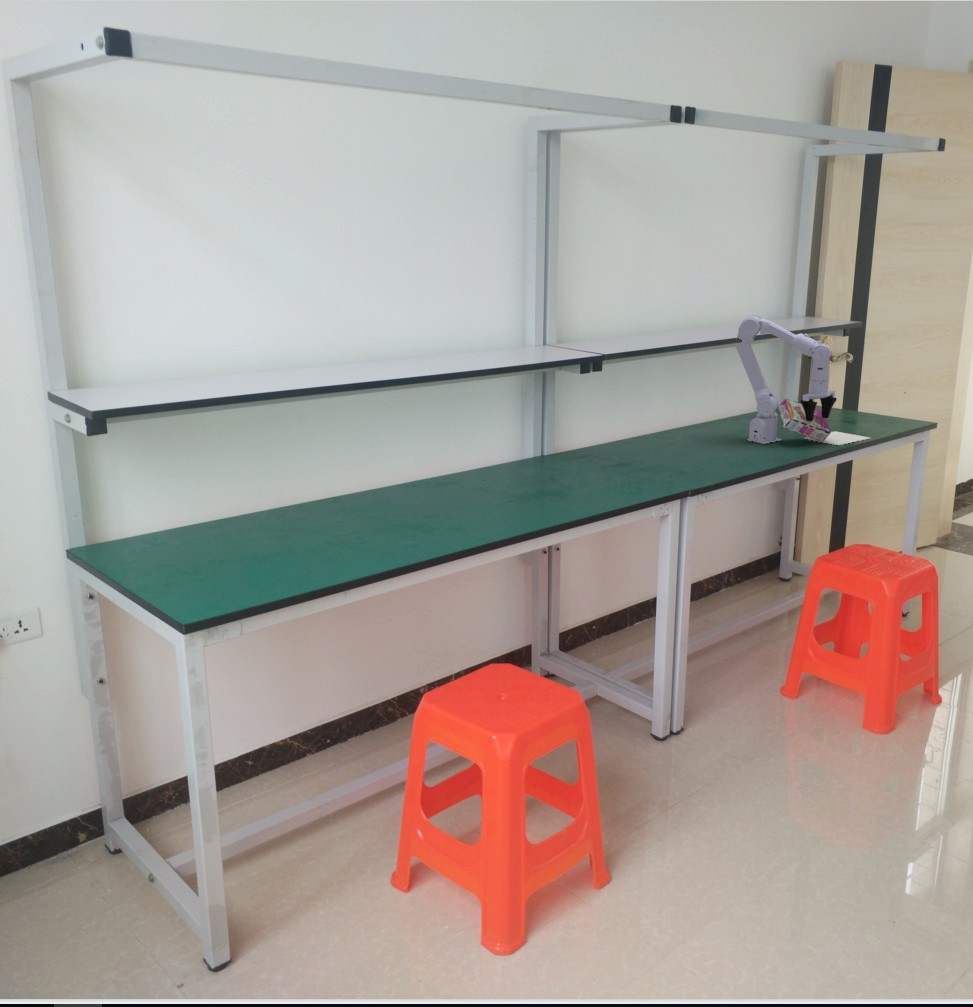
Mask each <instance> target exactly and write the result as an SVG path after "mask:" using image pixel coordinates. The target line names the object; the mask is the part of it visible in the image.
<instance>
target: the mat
mask: <svg viewBox="0 0 973 1007" xmlns="http://www.w3.org/2000/svg"><path fill="white" fill-rule="evenodd" d="M830 432H831V433H830V435H829V436H828V437H827V438H826V439H825V440H824V441H823V442H822V441H819V440H816V439H813V438H811V437H808V436H805V437H803V438H804V439H803V440H805V439H808V440H807V441H811V440H813V441H812V442H816V441H817V442H816V443H821V442H822V443H821V444H826V443H827V444H828V445H831V444H832V445H833V446H836V445H838V446H837V447H840V446H839V445H841V446H845V445H844V444H846V445H849V444H848V443H850V444H853V443H852V442H855V443H858V442H857V441H859V442H863V441H862V440H864V441H868V440H871V439H872V437H868V436H862V435H858V434H853V433H846V432H841V431H837V430H836V431H830ZM867 439H868V440H867ZM827 444H826V445H827ZM832 445H831V446H832Z"/></svg>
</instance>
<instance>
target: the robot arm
mask: <svg viewBox="0 0 973 1007" xmlns="http://www.w3.org/2000/svg"><path fill="white" fill-rule="evenodd" d="M737 330H738V332H737V337H736V339H737V338H739V339H741V340H742V343H741V344H736V343H735V348H736V351H737V354H738V356H739V358H740V361H741V363H742V365H743V368H744V370H745V373H746V376H747V378H748V379H749V382H750V385H751V387H752V390H753V391H754V397H755V402H756V411H757V413H756V415H755V418H752V419H751V420H750V422H749V429H748V430H749V432H748V433H749V434H748V438H747V439H746V441H747V440H748V441H747V442H752V441H753V443H757V444H762V445H765V444H766V443H767V444H771V443H770V442H772V443H777V442H781V441H782V440H783V439H782V438H778V436H777V434H778V419H779V414H778V413H777V412H776V410H777V409H778V407H779V405H780V404H779V399H778V398H777V397H776V396H775V395H774V394H773V392H772V390H771V389H770V387H769V386H768V383H767V381H766V379H765V377H764V376H765V375H764V374H763V372H762V369H761V366H760V364H759V361H758V360H757V357H756V355H755V351H754V349H753V347H752V343H753V342H754V340H755V338H756V336H757V335H758V334H760V335H765V334H770V335H773V336H774V337H777V338H778V339H781V340H783V341H785V342H787V343H790V345H791V348H792V349H793V350H795V351H797V352H799V353H801V354H803V355H805V356H807V357H811V358H812V366H811V375H810V376H811V378H810V379H811V380H810V392H809V393H805V394H802V399H801V400H800V404H802V406H803V408H804V411H805V416H806V421H813V417H814V411H815V409H816V407H817V405H818V402H817V401H814V400H819V401H820V404H821V411H822V418H826V419H829V417H830V414H831V411H832V409H833V406H834V405H835V402H837V397H835V395H836V391H835V390H831V389H830V390H829V383H830V370H831V368H830V363H831V361H830V359H831V355H832V350H831V347H830V346H829V345H828V344H827V343H825V342H823V343H822V341H821V340H816V339H815V338H814V339H813V338H811V337H810V336H809V334H807V333H806V332H805V333H804V334H803V333H802V332H801V333H798V334H795V333H793V332H791V331H789V330H788V329H786V328H785V327H782V326H781V325H778V324H777V323H775V322H773V321H771V320H769V319H766V318H764V317H760V316H759V315H756V314H755V315H750V316H748V317H746V318H744V319H743V321H742V322H741V324H740V325H739V327H738V329H737ZM776 441H777V442H776Z"/></svg>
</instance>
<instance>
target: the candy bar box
mask: <svg viewBox="0 0 973 1007" xmlns="http://www.w3.org/2000/svg"><path fill="white" fill-rule="evenodd" d="M777 409H778V412H779V414H780V420H781V423H782V426H783V428H784V429H785V430H789V431H791V432H794V433H797V434H799V435H803V436H805V437H811V438H813V439H816V440H819V441H822V442H823V441H824V440H825V439H826V438H827V437H828V436H829V435H830V433H831V432H832V431H831V430H830V427H829V424H828V420H827V418H822V410H818V409H816V408H815V411H814V417H813V421H806V416H805V411H804V408H803V406H802V404H801V402H797V401H794V400H791V399H788V398H784V399H783V401H782V402H781V403H780V404H779V405H778V408H777Z"/></svg>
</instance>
